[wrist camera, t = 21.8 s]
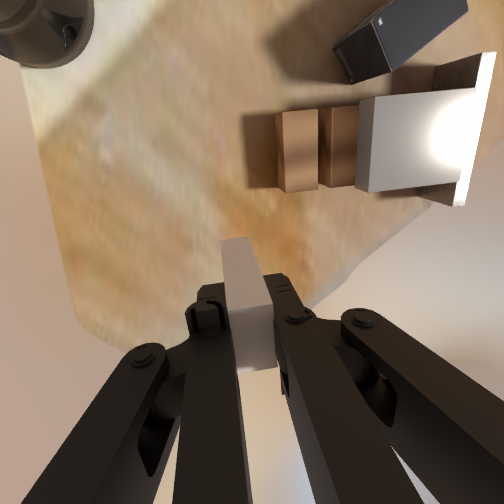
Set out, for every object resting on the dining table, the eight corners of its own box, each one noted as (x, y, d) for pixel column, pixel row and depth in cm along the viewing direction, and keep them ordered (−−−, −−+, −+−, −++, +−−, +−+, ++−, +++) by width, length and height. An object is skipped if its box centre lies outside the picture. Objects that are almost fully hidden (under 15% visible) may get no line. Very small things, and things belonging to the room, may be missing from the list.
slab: (359, 100, 39) (375, 96, 35) (453, 91, 40) (478, 87, 36) (354, 187, 43) (368, 192, 40) (439, 177, 45) (459, 181, 41)
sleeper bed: (274, 114, 43) (282, 112, 38) (394, 103, 44) (415, 99, 40) (278, 187, 47) (285, 193, 42) (387, 174, 49) (405, 178, 44)
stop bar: (436, 66, 43) (482, 52, 36) (448, 65, 43) (496, 51, 36) (417, 196, 51) (452, 206, 44) (427, 195, 51) (464, 205, 44)
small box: (351, 88, 43) (392, 75, 33) (330, 46, 40) (367, 19, 31) (411, 40, 41) (472, 11, 32) (393, -7, 39) (453, -54, 29)
